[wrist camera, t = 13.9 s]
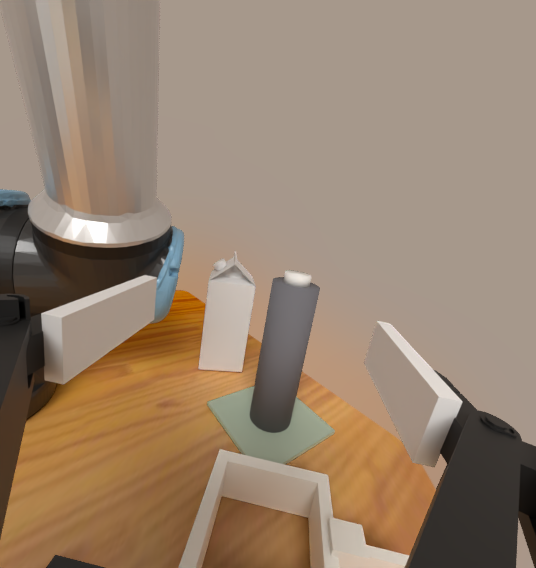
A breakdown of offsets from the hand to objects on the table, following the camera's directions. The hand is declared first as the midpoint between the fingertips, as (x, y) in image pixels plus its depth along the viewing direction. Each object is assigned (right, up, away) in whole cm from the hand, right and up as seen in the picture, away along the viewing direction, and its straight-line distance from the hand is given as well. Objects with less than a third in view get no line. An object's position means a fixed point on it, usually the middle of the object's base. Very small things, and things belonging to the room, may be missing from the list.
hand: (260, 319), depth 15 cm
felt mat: (+1, -16, +19) cm, 24 cm away
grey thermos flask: (+1, -15, +19) cm, 24 cm away
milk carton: (-8, -11, +31) cm, 34 cm away
